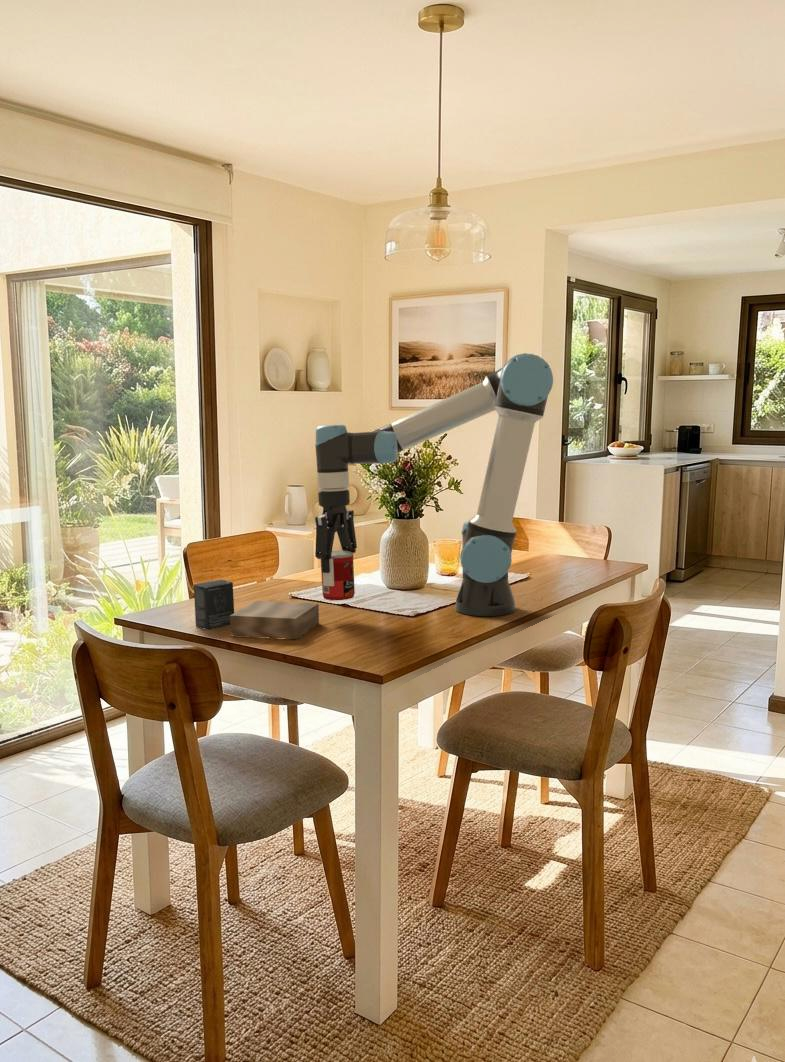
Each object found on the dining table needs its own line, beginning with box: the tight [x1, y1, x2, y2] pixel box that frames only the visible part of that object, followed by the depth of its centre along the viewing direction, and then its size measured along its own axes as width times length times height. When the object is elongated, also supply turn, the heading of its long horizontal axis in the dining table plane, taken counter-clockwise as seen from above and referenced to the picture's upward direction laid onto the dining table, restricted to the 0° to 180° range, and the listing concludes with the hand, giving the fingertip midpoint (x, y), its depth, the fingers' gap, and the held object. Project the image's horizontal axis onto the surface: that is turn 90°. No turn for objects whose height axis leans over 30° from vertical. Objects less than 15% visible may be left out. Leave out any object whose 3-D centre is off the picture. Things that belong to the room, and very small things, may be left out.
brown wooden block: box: [229, 600, 320, 640], centre depth 216 cm, size 16×16×5 cm
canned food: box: [320, 550, 356, 601], centre depth 223 cm, size 8×8×11 cm
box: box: [193, 579, 235, 630], centre depth 221 cm, size 8×6×11 cm
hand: (338, 582), depth 224 cm, fingers closed on canned food, 8 cm apart
